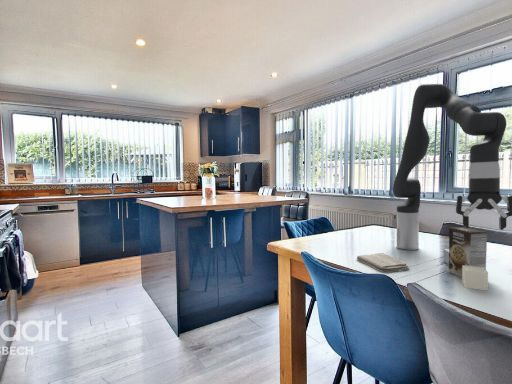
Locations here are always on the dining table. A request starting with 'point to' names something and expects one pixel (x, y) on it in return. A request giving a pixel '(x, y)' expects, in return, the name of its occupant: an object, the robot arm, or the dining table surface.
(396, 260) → the washcloth
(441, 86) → the robot arm
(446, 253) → the slate block
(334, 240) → the dining table surface
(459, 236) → the coffee box
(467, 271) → the cream cube
